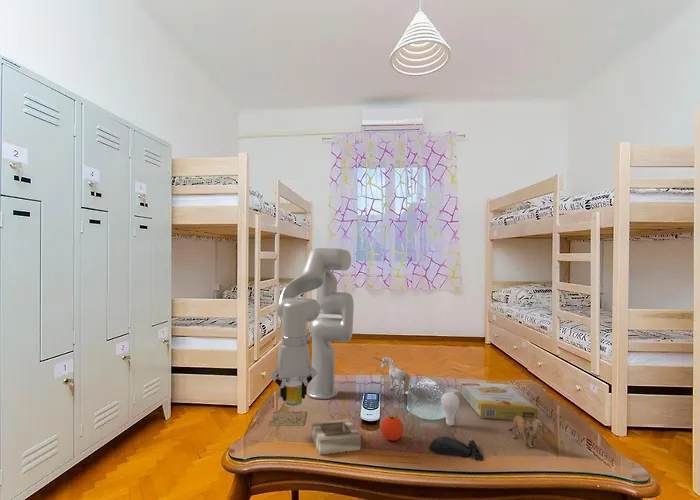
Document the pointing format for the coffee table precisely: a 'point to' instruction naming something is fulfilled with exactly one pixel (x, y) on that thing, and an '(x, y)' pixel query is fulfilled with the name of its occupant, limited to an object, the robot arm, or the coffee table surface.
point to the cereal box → (497, 401)
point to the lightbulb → (450, 406)
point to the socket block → (335, 436)
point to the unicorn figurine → (396, 374)
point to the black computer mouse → (455, 447)
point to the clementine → (392, 428)
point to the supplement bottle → (293, 392)
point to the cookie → (288, 418)
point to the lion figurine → (528, 429)
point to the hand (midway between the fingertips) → (293, 397)
